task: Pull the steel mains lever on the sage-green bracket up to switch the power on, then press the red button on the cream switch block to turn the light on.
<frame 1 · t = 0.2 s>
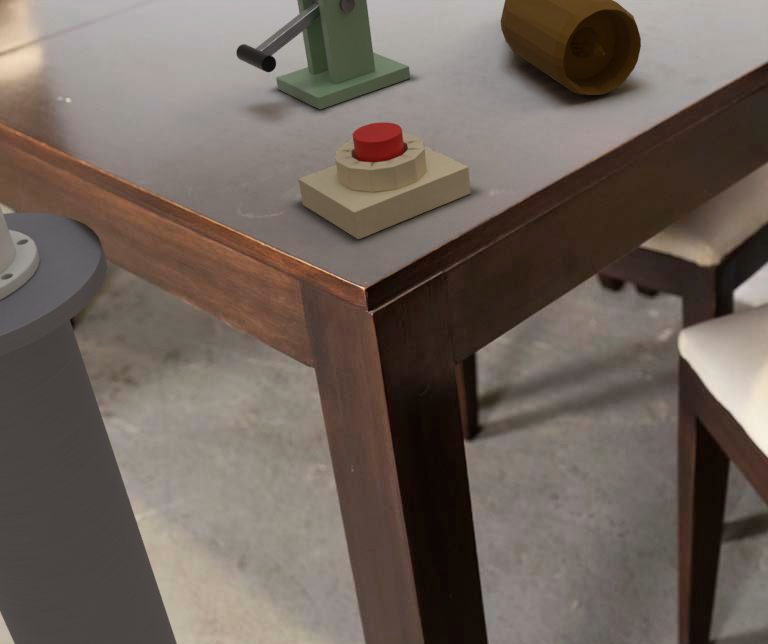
mains lever: (296, 25, 99), point 7 cm above the table, hinge at -20.0°
switch block: (385, 199, 83), on the table
mains bracket: (343, 84, 105), on the table
light button: (378, 143, 81), point 5 cm above the table, slide at 0.2 cm
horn: (550, 58, 104), on the table
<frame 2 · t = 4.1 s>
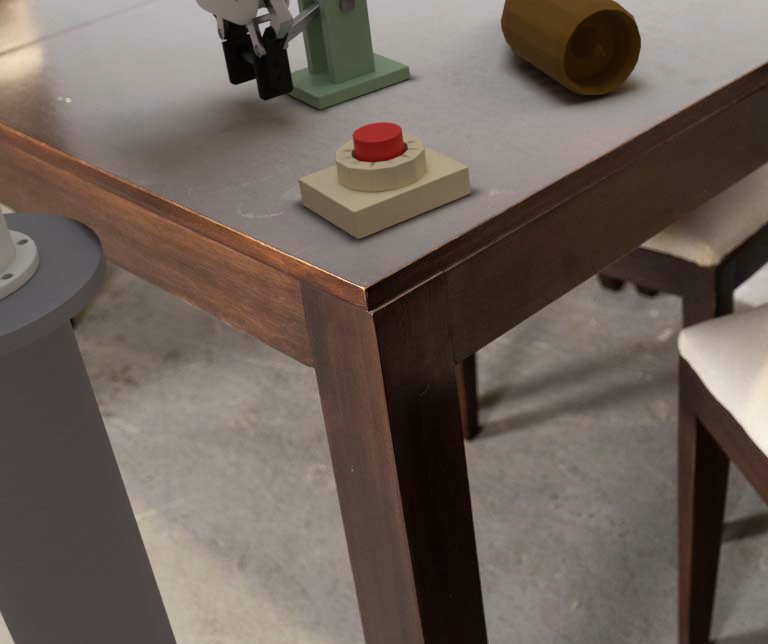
hand: (261, 85, 100), 2 cm above the table, tool pointing down, fingers closed on mains lever, 5 cm apart
mains lever: (296, 25, 99), point 7 cm above the table, hinge at -20.0°, touching gripper
everything else where it was.
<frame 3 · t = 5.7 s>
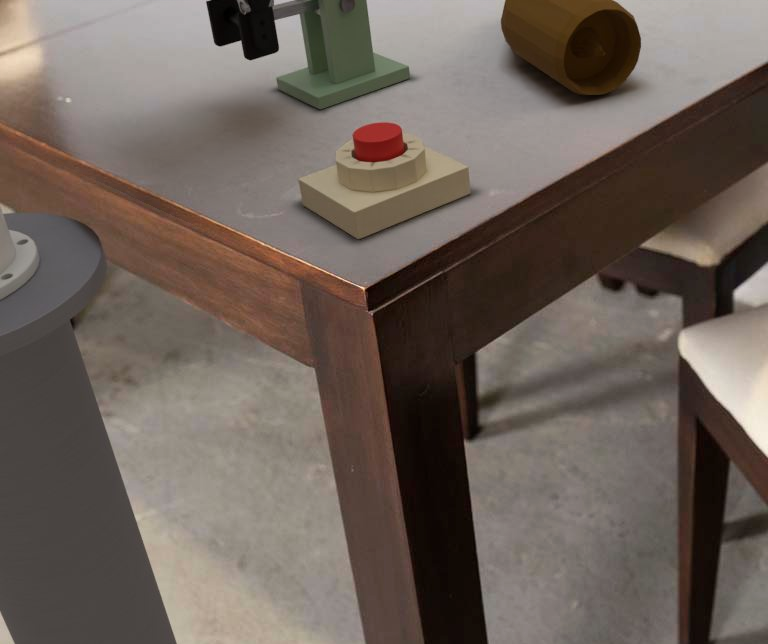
hand: (246, 46, 98), 6 cm above the table, tool pointing down, fingers closed on mains lever, 5 cm apart
mains lever: (291, 8, 98), point 8 cm above the table, hinge at 2.7°, touching gripper
everything else where it was.
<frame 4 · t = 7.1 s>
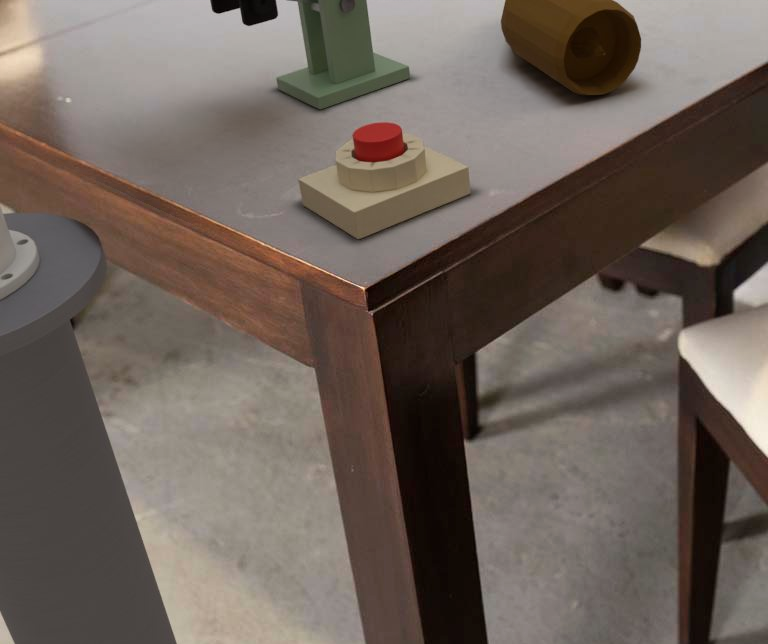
hand: (244, 13, 96), 9 cm above the table, tool pointing down, fingers closed on mains lever, 5 cm apart
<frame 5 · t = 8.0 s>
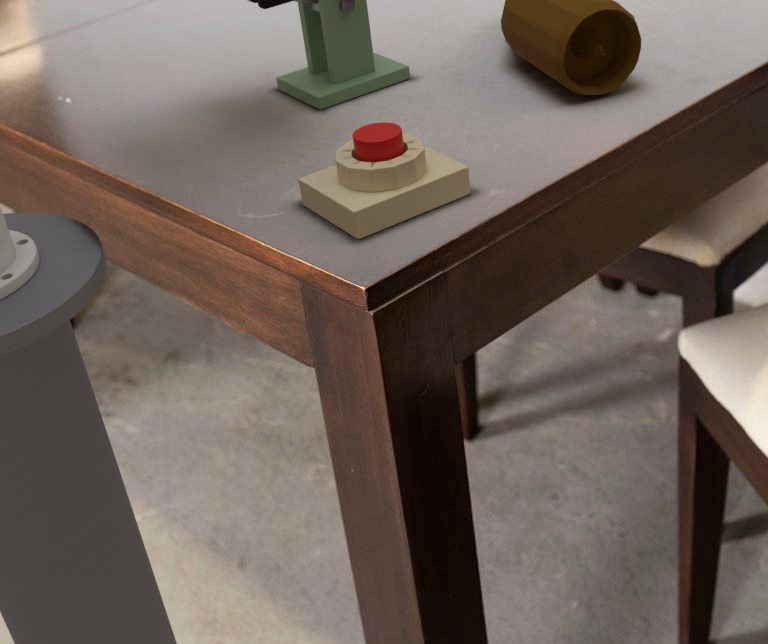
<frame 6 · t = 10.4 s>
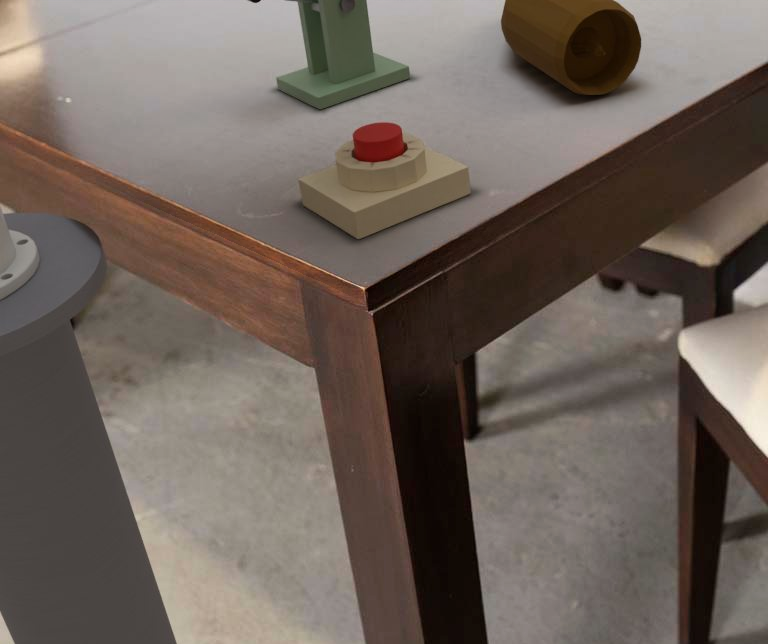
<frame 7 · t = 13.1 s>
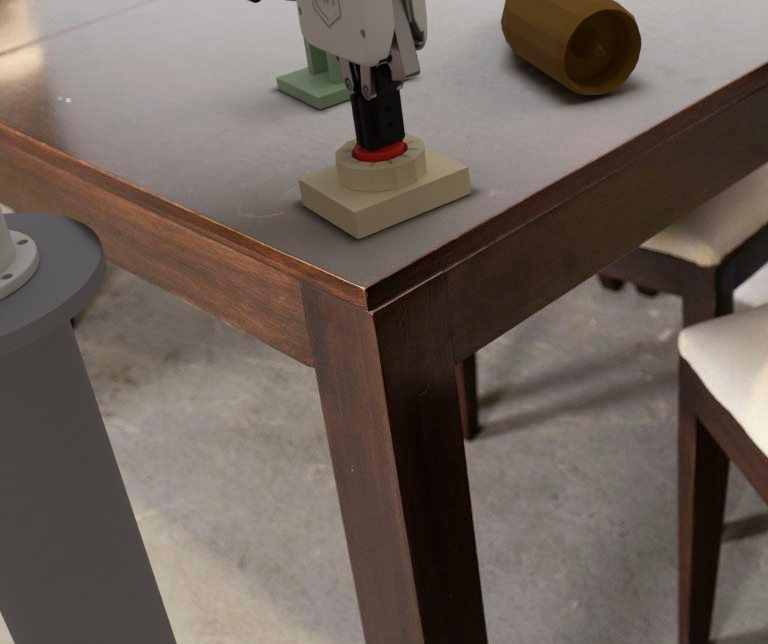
hand: (381, 142, 81), 5 cm above the table, tool pointing down, fingers closed
light button: (380, 154, 81), point 4 cm above the table, slide at -0.8 cm, touching gripper
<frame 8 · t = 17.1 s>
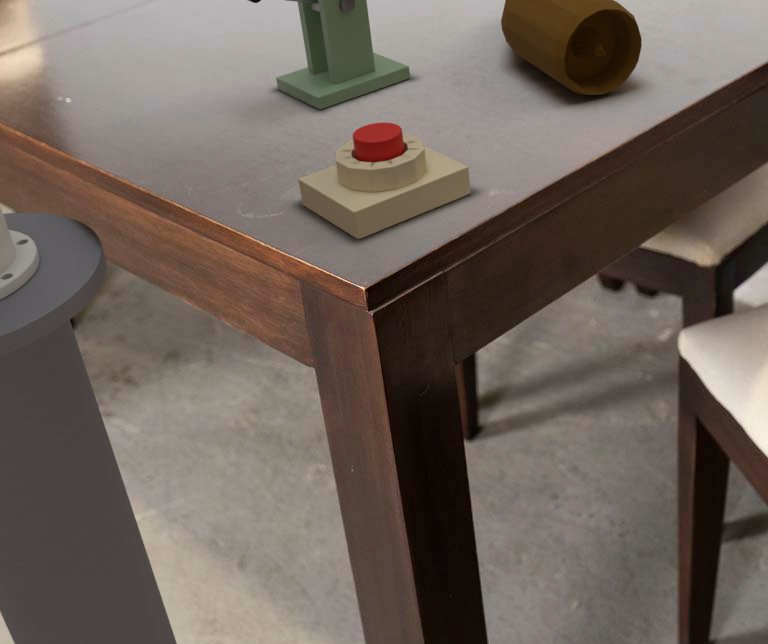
light button: (378, 143, 81), point 5 cm above the table, slide at 0.1 cm
at the end: mains lever at +19° (first picture: -20°); light button pushed in 1.1 cm at the most during the clip, back to where it started at the end; light button slide at 0.1 cm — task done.
